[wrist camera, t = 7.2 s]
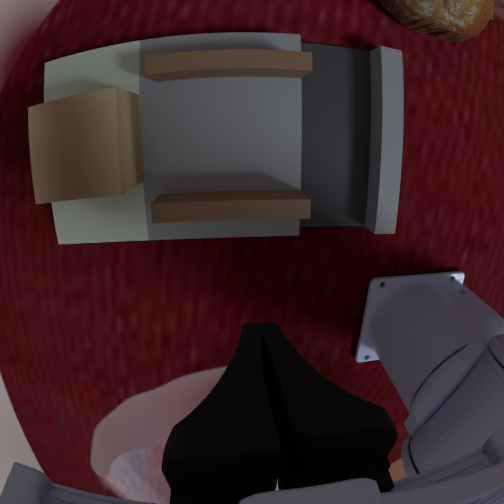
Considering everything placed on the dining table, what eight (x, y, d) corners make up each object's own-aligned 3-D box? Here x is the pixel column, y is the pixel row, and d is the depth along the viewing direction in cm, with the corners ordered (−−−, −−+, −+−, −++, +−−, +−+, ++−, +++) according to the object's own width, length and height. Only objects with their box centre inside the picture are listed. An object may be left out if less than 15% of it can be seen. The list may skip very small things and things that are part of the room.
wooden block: (140, 95, 15) (116, 87, 12) (143, 181, 17) (121, 195, 14) (64, 108, 15) (28, 107, 11) (69, 188, 17) (35, 204, 13)
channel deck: (387, 56, 17) (422, 43, 13) (381, 224, 21) (413, 247, 17) (59, 66, 16) (23, 57, 11) (71, 234, 20) (40, 258, 16)
